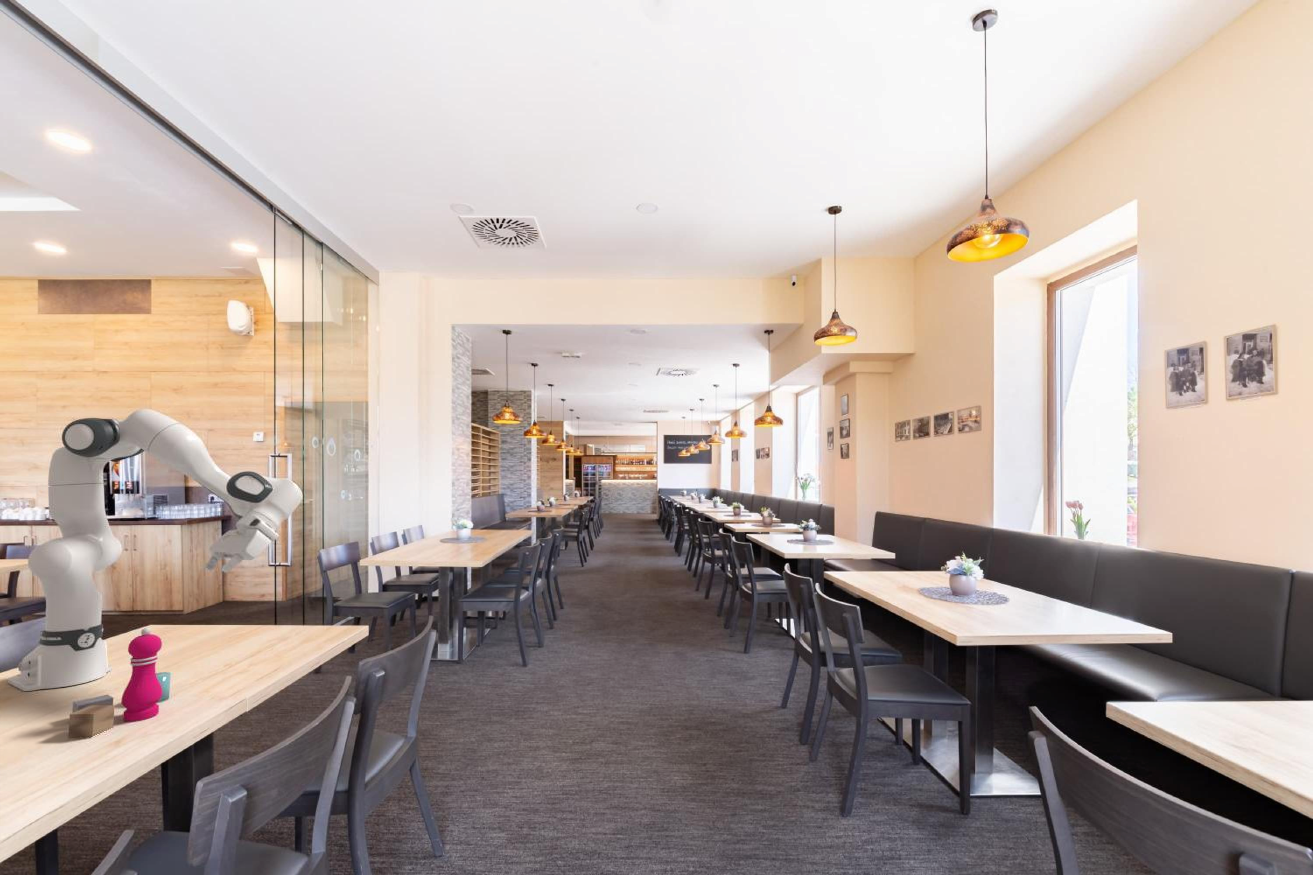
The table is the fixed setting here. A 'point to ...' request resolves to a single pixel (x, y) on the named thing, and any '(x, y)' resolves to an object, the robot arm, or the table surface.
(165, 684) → the teal glazed cylinder
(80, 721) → the walnut block
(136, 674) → the pepper mill
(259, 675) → the table surface
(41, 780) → the table surface
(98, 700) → the charcoal block
